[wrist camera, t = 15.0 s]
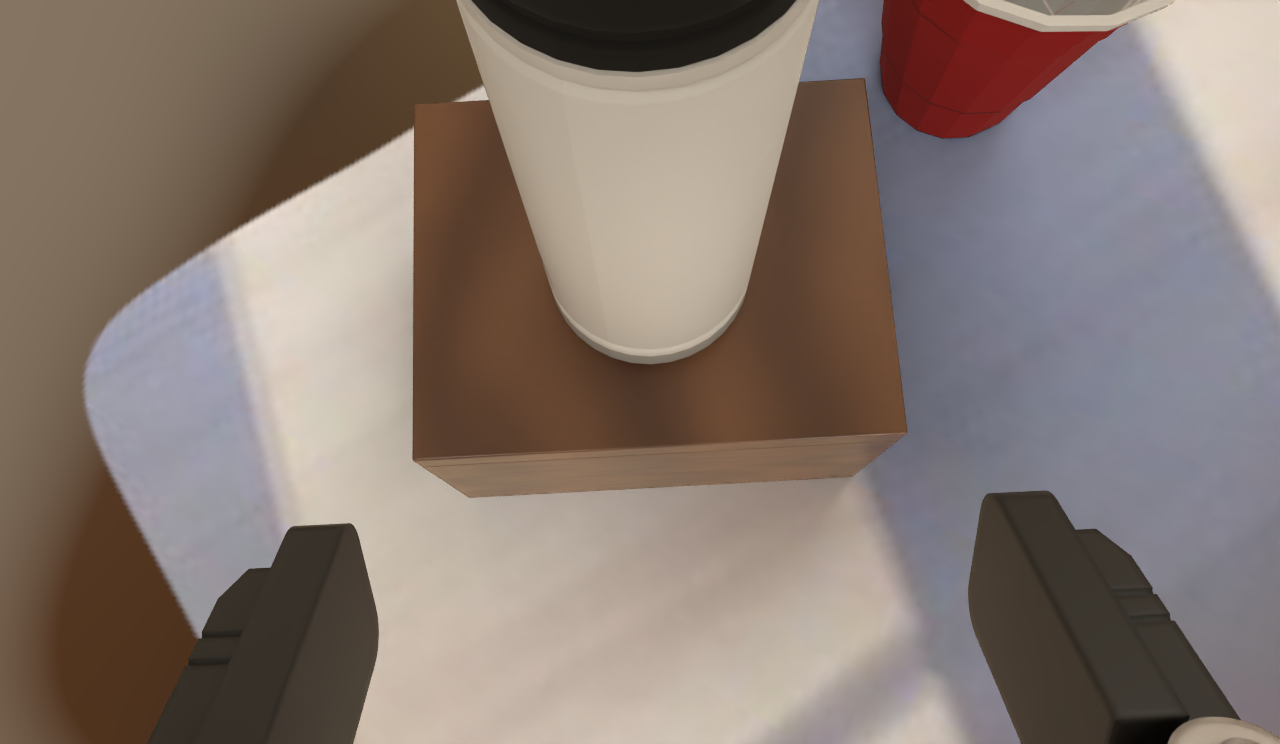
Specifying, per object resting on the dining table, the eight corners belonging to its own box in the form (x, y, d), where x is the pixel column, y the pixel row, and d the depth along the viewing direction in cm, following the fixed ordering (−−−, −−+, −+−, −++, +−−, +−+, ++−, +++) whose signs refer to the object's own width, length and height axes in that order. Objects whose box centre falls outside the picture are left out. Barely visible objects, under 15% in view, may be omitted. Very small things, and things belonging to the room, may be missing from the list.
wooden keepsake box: (823, 191, 42) (865, 77, 33) (853, 476, 39) (908, 433, 30) (465, 212, 42) (413, 103, 33) (468, 497, 39) (411, 461, 30)
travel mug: (780, 208, 32) (962, -438, 13) (707, 395, 30) (785, -9, 11) (599, 144, 33) (506, -563, 13) (519, 324, 31) (282, -174, 12)
